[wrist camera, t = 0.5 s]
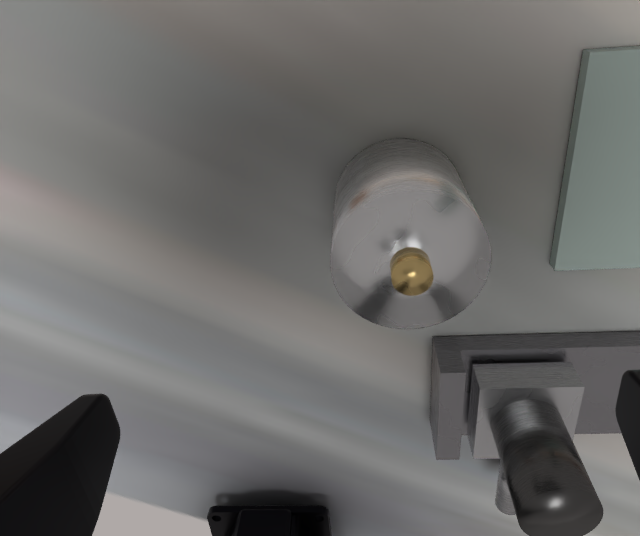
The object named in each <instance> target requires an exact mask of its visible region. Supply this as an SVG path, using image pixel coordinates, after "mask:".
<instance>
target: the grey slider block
mask: <svg viewBox="0 0 640 536" xmlns="http://www.w3.org/2000/svg"><path fill="white" fill-rule="evenodd" d="M584 388H585V386H584V385H583V383H582V381H581V379H580V377H579V375H578V374H577V372H576V370H575V368H574V366H573V364H572V363H571V362H547V363H503V364H473V366H472V378H471V389H470V401H469V413H468V425H467V435H468V439H469V443H470V448H471V452H472V456H473V459H500V468H499V476H498V483H497V491H496V498H495V504H496V506H497V508H498V509H499V510H500V511H501V512H503V513H505V514H508V515H515V514H516V516H517V519H518V523H519V525H520V527H521V529H522V530H523V531H524V532H525V533H526V534H527V535H529V536H583V535H585V534H587V533H589V532H590V531H592V530H593V529H594V528H595V527H596V526H597V525H598V524H599V523H600V521H601V519H602V517H603V507H602V505H601V502H600V500H599V498H598V496H597V494H596V492H595V489H594V487H593V485H592V483H591V481H590V478H589V476H588V474H587V472H586V470H585V467H584V465H583V463H582V461H581V459H580V456H579V454H578V452H577V450H576V448H575V445H574V443H573V437H574V433H575V428H576V424H577V419H578V415H579V410H580V406H581V401H582V397H583V393H584Z"/></svg>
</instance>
